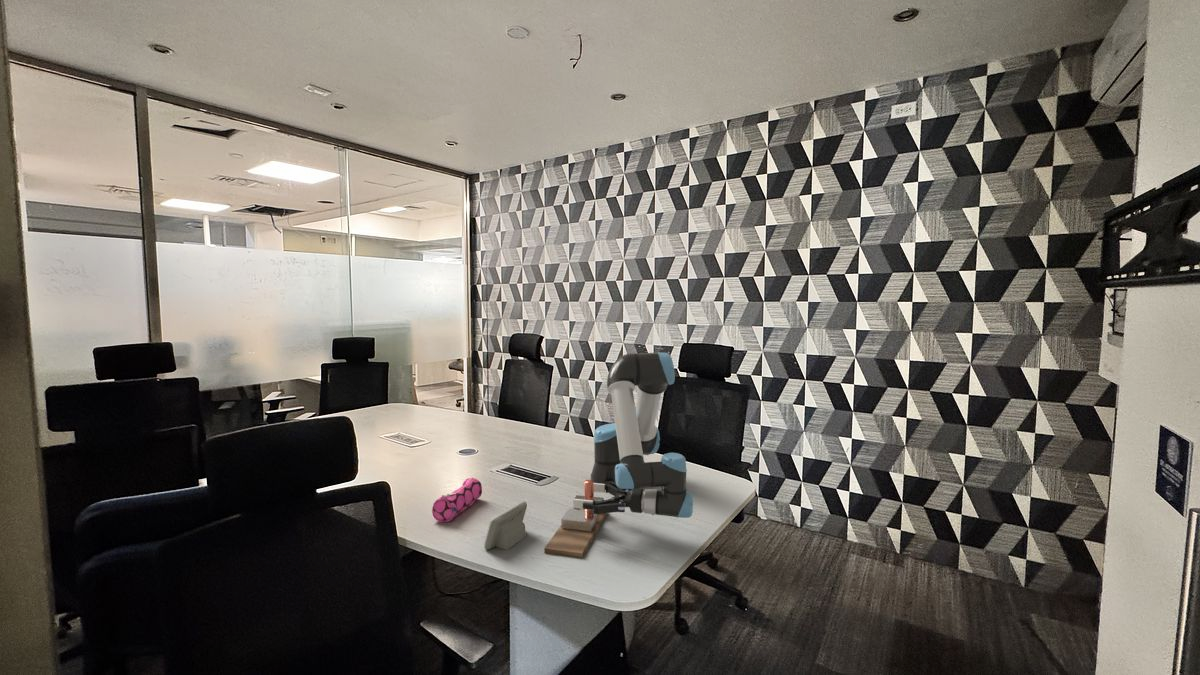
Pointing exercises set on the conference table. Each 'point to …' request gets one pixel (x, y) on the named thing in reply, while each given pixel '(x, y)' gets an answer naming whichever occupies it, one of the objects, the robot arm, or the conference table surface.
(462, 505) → the pencil case
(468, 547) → the conference table surface
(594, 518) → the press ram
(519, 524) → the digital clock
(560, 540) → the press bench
